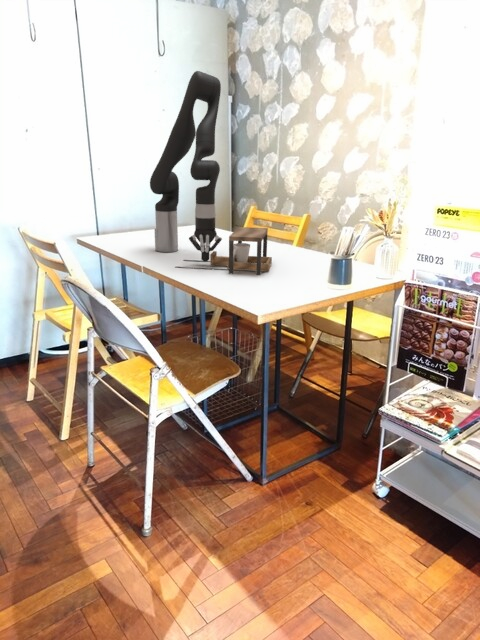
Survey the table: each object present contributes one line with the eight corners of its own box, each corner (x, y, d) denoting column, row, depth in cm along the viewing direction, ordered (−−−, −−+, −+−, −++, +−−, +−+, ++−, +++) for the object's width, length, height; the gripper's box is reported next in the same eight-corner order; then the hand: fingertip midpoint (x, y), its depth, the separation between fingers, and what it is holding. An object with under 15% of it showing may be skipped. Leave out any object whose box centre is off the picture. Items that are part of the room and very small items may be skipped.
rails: (175, 267, 189) (174, 267, 189) (183, 260, 201) (183, 259, 201) (264, 272, 184) (264, 271, 184) (267, 264, 196) (267, 264, 196)
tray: (208, 268, 187) (208, 256, 185) (215, 260, 199) (215, 249, 197) (268, 271, 184) (268, 259, 182) (271, 263, 196) (272, 252, 194)
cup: (253, 264, 195) (254, 244, 193) (241, 269, 187) (241, 248, 184) (237, 262, 199) (238, 242, 196) (224, 267, 190) (225, 246, 188)
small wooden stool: (228, 273, 182) (229, 236, 177) (238, 260, 202) (238, 226, 198) (260, 275, 180) (261, 237, 176) (266, 261, 201) (267, 228, 196)
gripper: (185, 216, 184) (186, 262, 190) (220, 218, 183) (220, 264, 188) (190, 214, 191) (191, 258, 197) (224, 215, 190) (224, 260, 195)
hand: (205, 261), depth 193 cm, fingers closed
